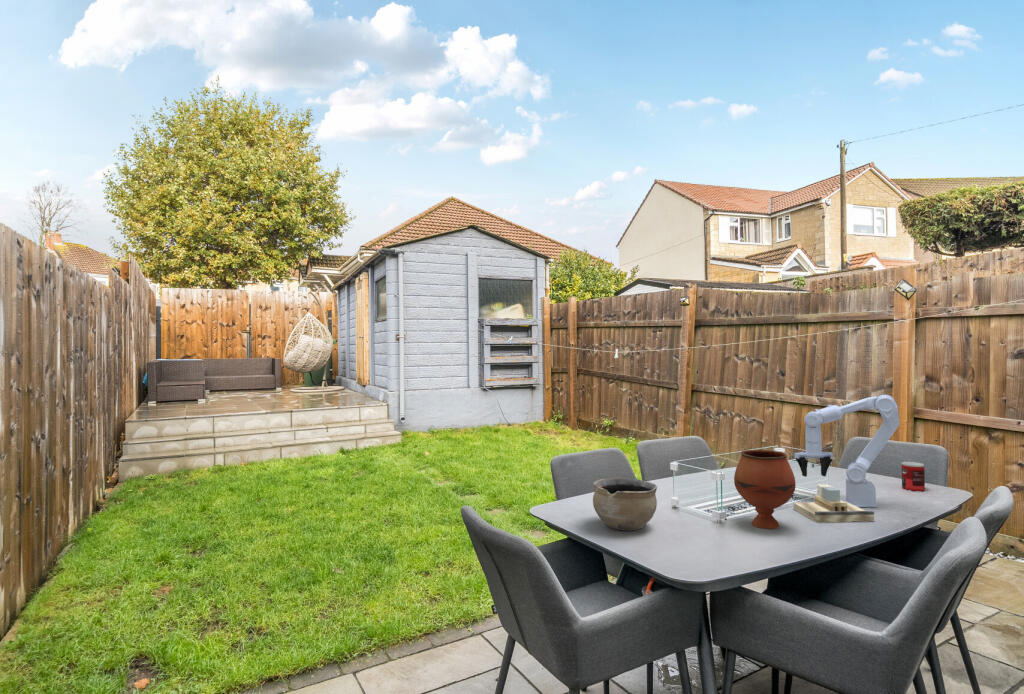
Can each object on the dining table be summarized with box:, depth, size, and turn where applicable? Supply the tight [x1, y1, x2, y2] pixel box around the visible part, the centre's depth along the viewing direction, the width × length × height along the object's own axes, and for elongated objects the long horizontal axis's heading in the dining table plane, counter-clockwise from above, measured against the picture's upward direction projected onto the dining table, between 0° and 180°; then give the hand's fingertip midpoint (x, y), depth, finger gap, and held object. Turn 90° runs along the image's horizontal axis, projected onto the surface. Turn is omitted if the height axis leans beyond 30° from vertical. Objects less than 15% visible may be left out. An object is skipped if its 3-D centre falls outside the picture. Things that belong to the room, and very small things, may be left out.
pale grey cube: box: [823, 487, 841, 502], centre depth 201 cm, size 4×4×4 cm
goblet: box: [733, 449, 797, 530], centre depth 191 cm, size 19×19×25 cm
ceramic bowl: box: [592, 477, 658, 531], centre depth 192 cm, size 22×22×15 cm
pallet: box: [813, 494, 847, 511], centre depth 203 cm, size 6×11×3 cm, turn 1°
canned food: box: [900, 461, 926, 492], centre depth 235 cm, size 8×8×11 cm
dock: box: [793, 501, 875, 523], centre depth 201 cm, size 20×16×4 cm
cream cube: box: [816, 483, 834, 498], centre depth 206 cm, size 4×4×4 cm
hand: (814, 475), depth 222 cm, fingers open, 7 cm apart
